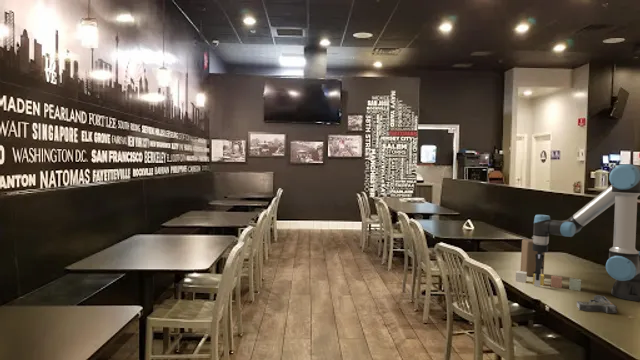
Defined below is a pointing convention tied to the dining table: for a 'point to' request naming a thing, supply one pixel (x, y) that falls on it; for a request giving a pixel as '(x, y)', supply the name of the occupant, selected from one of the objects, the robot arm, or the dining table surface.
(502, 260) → the dining table surface
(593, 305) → the handgun
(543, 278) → the mustard cube
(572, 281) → the sage cube
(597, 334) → the dining table surface
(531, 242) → the wooden block
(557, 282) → the terracotta cube
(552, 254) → the dining table surface
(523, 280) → the cream cube
